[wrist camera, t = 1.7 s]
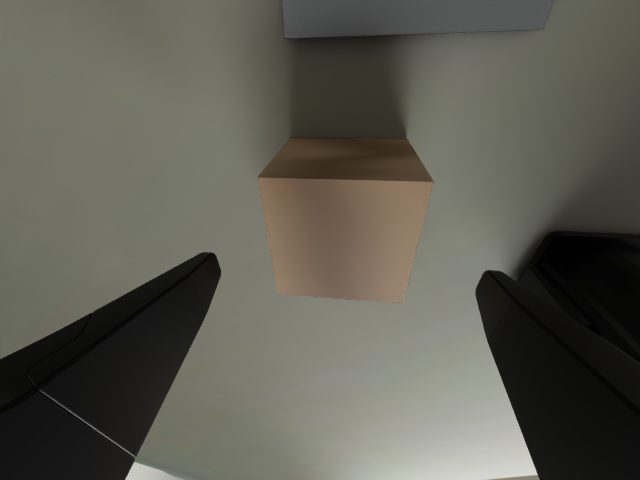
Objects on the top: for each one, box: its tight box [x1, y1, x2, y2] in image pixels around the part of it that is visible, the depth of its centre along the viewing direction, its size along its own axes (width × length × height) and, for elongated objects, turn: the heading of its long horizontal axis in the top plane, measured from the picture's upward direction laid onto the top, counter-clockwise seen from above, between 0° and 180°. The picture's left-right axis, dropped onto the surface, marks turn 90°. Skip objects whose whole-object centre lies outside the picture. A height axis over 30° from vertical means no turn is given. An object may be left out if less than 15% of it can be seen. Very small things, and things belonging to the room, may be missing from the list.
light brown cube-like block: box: [257, 138, 434, 304], centre depth 12 cm, size 6×6×5 cm
